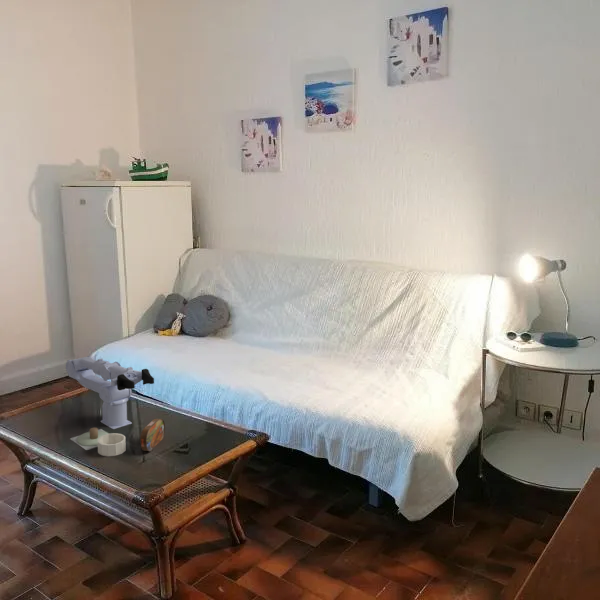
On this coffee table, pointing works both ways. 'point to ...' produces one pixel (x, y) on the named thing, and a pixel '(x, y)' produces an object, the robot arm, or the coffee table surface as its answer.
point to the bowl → (111, 444)
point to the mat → (82, 445)
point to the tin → (152, 434)
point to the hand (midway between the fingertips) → (143, 383)
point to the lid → (90, 437)
